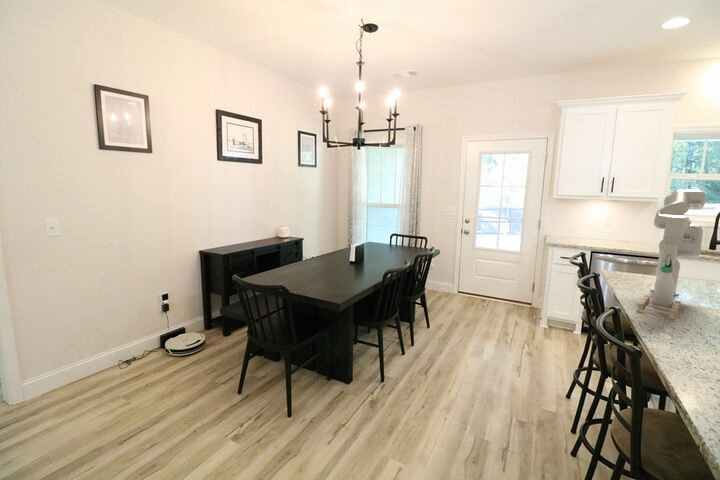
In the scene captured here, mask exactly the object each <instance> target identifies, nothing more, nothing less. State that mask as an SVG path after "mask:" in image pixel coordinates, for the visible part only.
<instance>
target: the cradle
mask: <svg viewBox="0 0 720 480" xmlns="http://www.w3.org/2000/svg"><path fill="white" fill-rule="evenodd" d="M650 296H651V295H650V294H644V295H643V296H642V298H641V299H640V300H639V301H638V302H637V305H636V306H637V307H636V312H639V313H645V314H650V315H653V316H658V317H662V318H667V319H672V320H675V319H676V318H677V315H678V312H679V311H680V308H681V303H682V302H681V301H680V300H674V302H673V303H672V305H663V304H658V303H655V302H654V301H653V302H652V301H650V298H651V297H650Z"/></svg>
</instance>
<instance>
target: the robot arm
mask: <svg viewBox="0 0 720 480" xmlns="http://www.w3.org/2000/svg"><path fill="white" fill-rule="evenodd" d="M706 201H707V194H706V192H705V191H703V190H701V189H678V190H677V189H676V190H675V191H673V192H672V193H671V194H670V195H667V196H666V197H665V198H664V200H663V207H661V208H658V209H657V211H656V213H655V216H654V220H653V225H654V227H655V228H656V229H660V230H664V231H663V237H662V239H661V241H659V244H658V254H659V255H658V263H657V270H656V276H655V280H656V279H657V277H658V276H659V275H660V273H661V272H660V271H661V267H663V266H667V267H671V268H672V269H673V271H672V277H673V279H674V282H675V287H674V295H673V296H679V295H680V292H679V291H677V289H678V288H677V287H678V282H679V275H680V269H681V262H680V261H679V260H678V259H677V258H678V257H680V258H691V259H696V258H699V256H700V254H701V251H702V246H703V245H702V243H703V234H704V230H703V228H702V226H701V225H698V224H693V223H692V220H691V219H690V217H688V216H686V215H685V214H686V213H687V212H688V211H689V210H693V211H694V210H698V211H699V210H701V209H703V208H704V206H705V205H706ZM654 287H655V286H653V287H650V291H652V292H653V293H654Z"/></svg>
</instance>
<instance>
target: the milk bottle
mask: <svg viewBox="0 0 720 480" xmlns="http://www.w3.org/2000/svg"><path fill="white" fill-rule="evenodd" d="M672 271H673V269H672V268H671V267H667V266H663V267H661V271H660V272H661V273H660V275H659V276H658V277H657V279H656V278H655V281H654V286H653V287H654V292H653V297H652V301H653V303H658V304H663V305H668V306H672V305H673V303H674V302H673V301H674V296H675V295H674V287H675V282H674V279H673V277H672Z"/></svg>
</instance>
